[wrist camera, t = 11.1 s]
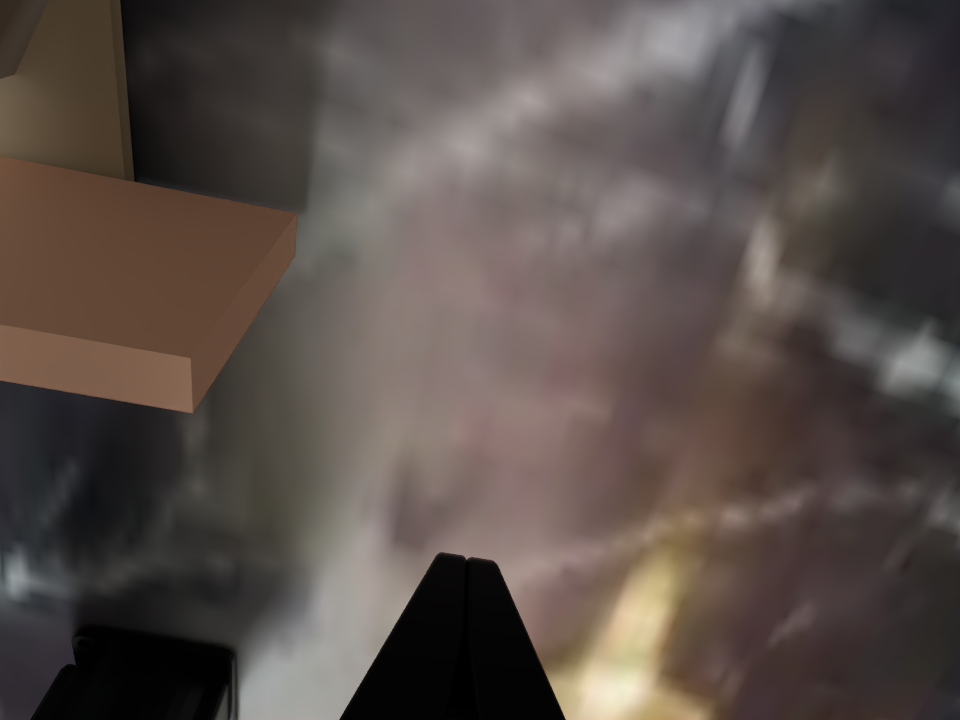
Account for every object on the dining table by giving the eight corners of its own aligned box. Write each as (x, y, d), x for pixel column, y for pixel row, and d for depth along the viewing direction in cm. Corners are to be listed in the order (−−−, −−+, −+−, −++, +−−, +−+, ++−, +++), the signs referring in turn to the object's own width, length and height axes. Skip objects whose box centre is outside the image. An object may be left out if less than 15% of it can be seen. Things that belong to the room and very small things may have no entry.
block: (297, 213, 18) (190, 358, 12) (294, 255, 18) (192, 413, 12) (-25, 150, 17) (-305, 270, 11) (-16, 197, 18) (-277, 332, 12)
